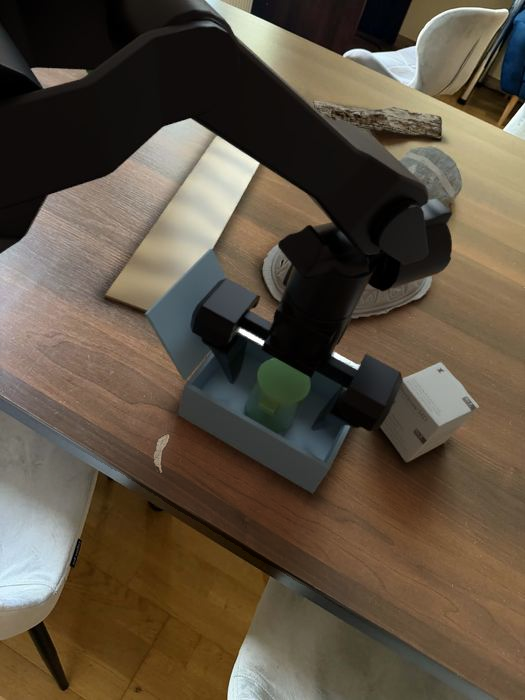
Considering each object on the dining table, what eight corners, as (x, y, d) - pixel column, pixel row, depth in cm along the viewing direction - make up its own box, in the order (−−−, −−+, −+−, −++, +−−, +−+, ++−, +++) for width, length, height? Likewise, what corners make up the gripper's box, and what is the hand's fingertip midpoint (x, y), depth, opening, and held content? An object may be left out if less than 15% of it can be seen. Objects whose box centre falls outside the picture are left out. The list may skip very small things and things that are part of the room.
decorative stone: (406, 166, 97) (422, 134, 92) (460, 196, 95) (479, 164, 90) (375, 197, 89) (391, 163, 84) (433, 230, 87) (452, 197, 82)
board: (172, 322, 63) (173, 320, 63) (104, 297, 63) (104, 294, 63) (267, 150, 90) (267, 148, 89) (219, 133, 90) (219, 130, 89)
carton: (177, 414, 56) (184, 385, 52) (231, 345, 63) (240, 315, 59) (312, 494, 54) (329, 469, 50) (352, 413, 61) (370, 386, 57)
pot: (277, 449, 56) (293, 419, 51) (231, 422, 56) (242, 390, 52) (306, 400, 60) (322, 369, 56) (263, 376, 61) (276, 343, 57)
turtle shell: (242, 241, 74) (258, 201, 68) (391, 228, 85) (414, 193, 80) (292, 339, 67) (314, 304, 62) (445, 310, 79) (475, 279, 74)
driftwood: (334, 124, 94) (338, 91, 92) (301, 125, 102) (304, 95, 101) (449, 140, 105) (454, 110, 104) (410, 140, 114) (415, 112, 113)
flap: (186, 380, 52) (183, 380, 52) (242, 310, 59) (240, 311, 59) (147, 313, 48) (144, 314, 48) (212, 248, 55) (209, 248, 55)
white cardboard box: (370, 418, 61) (399, 377, 56) (411, 399, 64) (441, 359, 59) (406, 465, 59) (439, 427, 53) (446, 443, 61) (482, 405, 56)
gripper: (452, 293, 49) (382, 395, 61) (263, 196, 52) (231, 312, 64) (417, 377, 42) (345, 475, 54) (200, 260, 45) (176, 377, 56)
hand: (273, 403), depth 57 cm, fingers open, 9 cm apart
